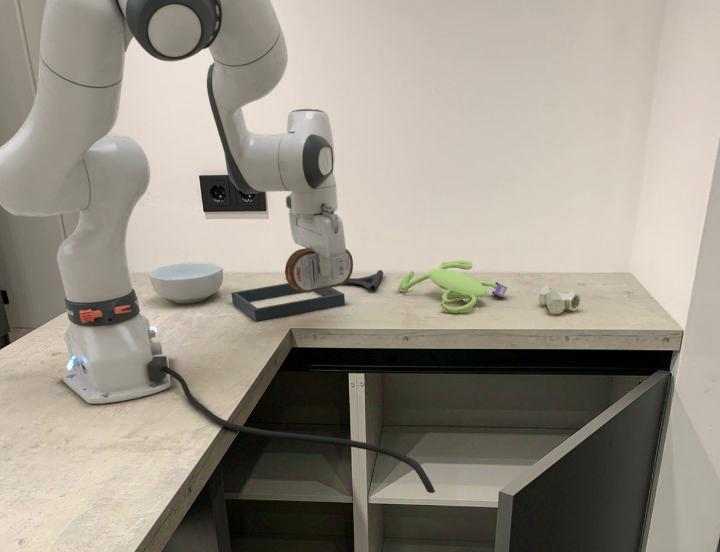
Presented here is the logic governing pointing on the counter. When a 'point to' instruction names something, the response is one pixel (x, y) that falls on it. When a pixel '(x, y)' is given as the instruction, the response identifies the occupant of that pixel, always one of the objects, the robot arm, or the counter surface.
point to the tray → (243, 297)
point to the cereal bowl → (187, 281)
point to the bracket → (367, 281)
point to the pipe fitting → (559, 300)
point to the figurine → (455, 284)
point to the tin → (316, 271)
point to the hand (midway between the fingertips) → (320, 273)
